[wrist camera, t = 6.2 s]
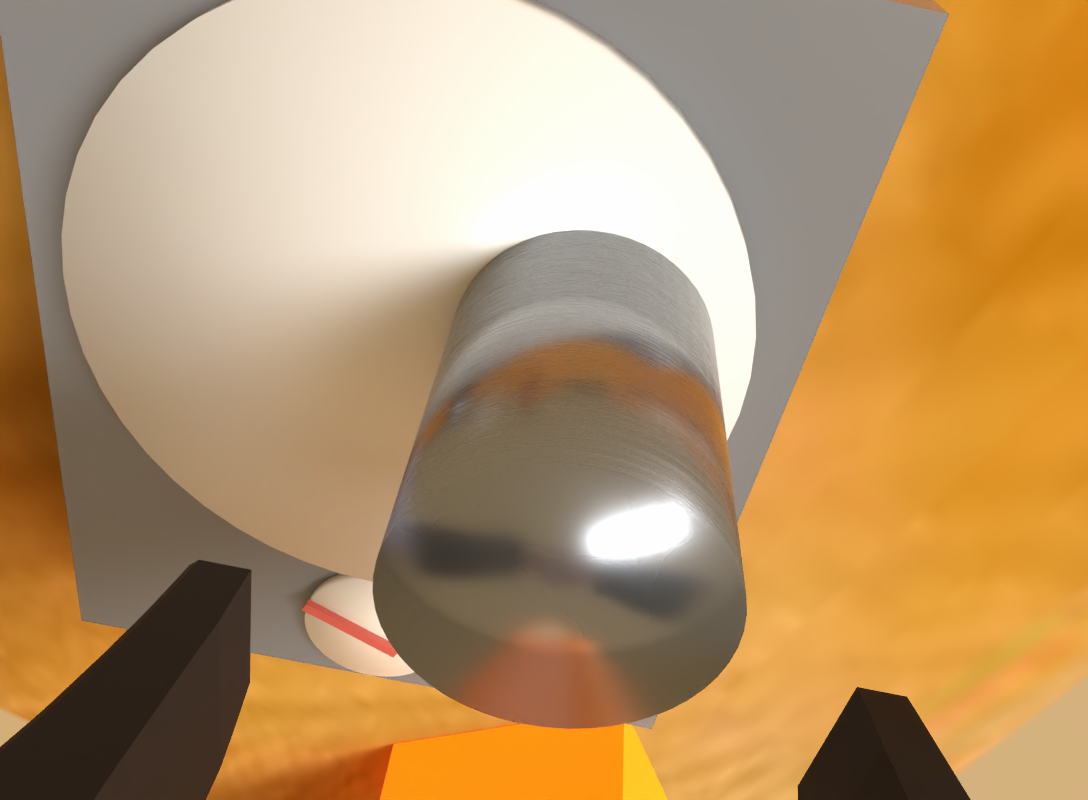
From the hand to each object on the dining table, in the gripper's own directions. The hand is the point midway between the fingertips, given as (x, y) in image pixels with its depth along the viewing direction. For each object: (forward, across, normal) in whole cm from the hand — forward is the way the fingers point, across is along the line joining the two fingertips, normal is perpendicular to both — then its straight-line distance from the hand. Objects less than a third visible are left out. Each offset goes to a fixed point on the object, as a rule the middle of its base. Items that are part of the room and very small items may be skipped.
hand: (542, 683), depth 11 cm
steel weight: (+7, 0, -1) cm, 7 cm away
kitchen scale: (+10, +3, +2) cm, 11 cm away
